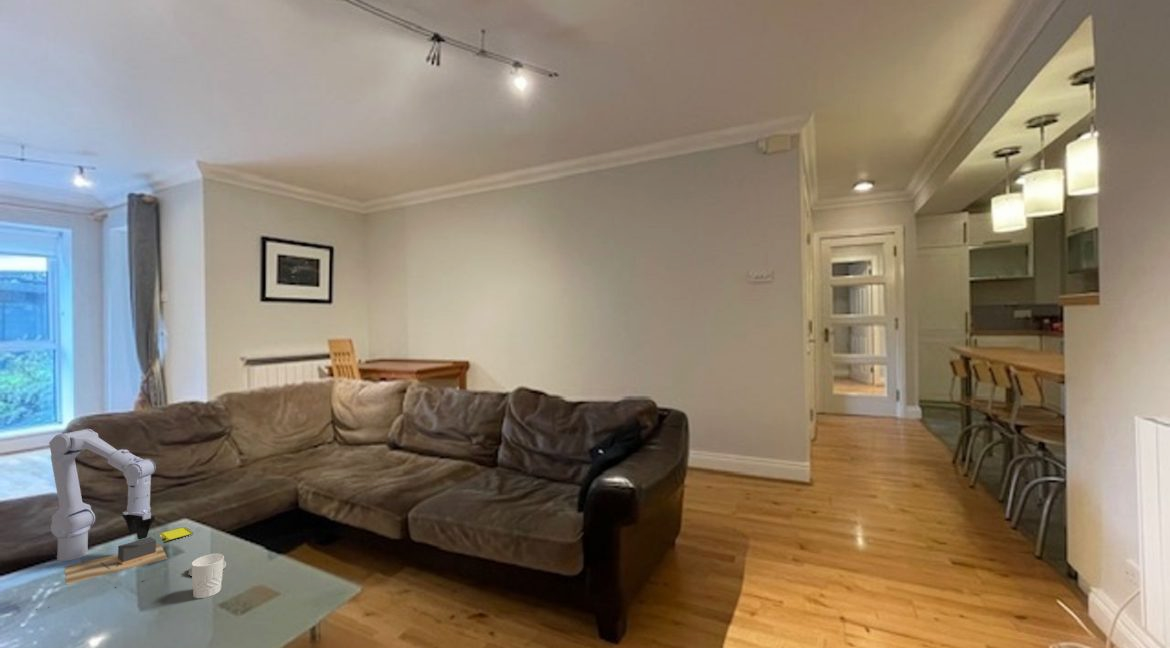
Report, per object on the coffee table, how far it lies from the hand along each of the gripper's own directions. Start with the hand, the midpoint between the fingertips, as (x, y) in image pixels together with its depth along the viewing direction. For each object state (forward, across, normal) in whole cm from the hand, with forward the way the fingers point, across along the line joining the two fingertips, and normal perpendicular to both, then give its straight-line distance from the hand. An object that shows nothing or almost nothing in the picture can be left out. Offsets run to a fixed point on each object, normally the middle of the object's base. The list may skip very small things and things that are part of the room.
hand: (137, 535), depth 169 cm
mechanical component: (+9, +27, +10) cm, 30 cm away
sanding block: (+8, 0, 0) cm, 8 cm away
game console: (+10, -15, +11) cm, 21 cm away
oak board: (+9, -1, -5) cm, 10 cm away
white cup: (+9, +43, +4) cm, 44 cm away
